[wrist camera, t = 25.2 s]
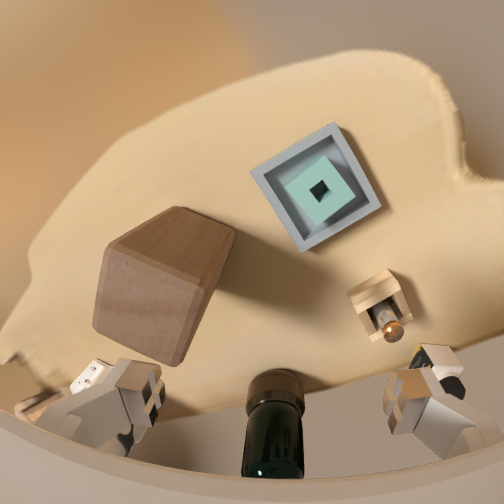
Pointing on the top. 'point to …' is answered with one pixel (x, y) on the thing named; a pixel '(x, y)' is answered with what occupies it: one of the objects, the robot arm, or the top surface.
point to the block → (161, 283)
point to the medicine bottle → (441, 367)
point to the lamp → (274, 427)
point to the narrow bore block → (328, 198)
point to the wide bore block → (375, 293)
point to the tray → (293, 161)
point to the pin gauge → (388, 321)
